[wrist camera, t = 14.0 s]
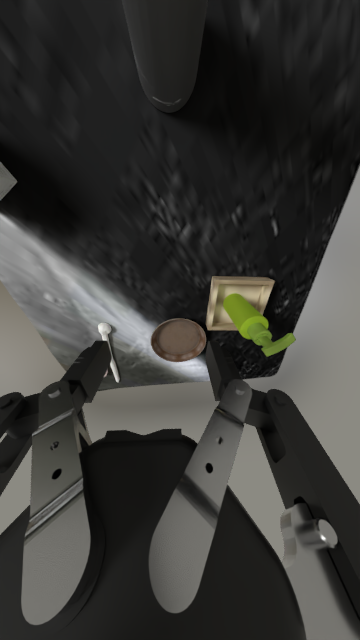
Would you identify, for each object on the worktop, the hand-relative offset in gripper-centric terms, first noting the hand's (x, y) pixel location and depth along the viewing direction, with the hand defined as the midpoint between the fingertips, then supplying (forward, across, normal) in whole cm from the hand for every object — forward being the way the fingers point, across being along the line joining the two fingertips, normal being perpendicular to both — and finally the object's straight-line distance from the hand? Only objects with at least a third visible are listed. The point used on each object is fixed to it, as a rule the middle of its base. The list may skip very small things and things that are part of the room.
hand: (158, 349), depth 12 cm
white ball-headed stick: (+31, +20, +30) cm, 48 cm away
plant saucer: (+31, -3, +22) cm, 38 cm away
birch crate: (+30, -19, +9) cm, 37 cm away
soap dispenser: (+30, -19, +8) cm, 36 cm away
